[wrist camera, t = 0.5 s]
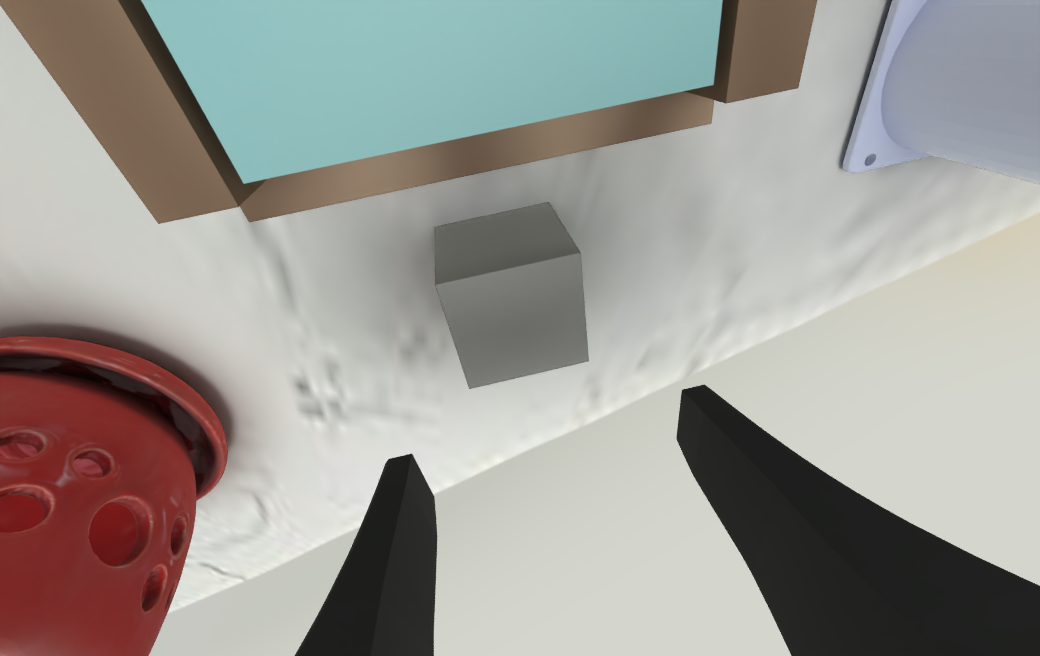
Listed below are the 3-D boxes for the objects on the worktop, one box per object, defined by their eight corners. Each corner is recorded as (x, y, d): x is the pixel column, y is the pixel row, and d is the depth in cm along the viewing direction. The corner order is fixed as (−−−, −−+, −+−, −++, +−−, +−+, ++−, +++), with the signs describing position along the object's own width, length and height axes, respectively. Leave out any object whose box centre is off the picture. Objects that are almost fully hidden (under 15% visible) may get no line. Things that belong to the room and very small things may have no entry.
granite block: (548, 201, 18) (580, 252, 14) (559, 297, 21) (588, 361, 17) (434, 226, 18) (435, 285, 14) (462, 319, 21) (469, 388, 17)
